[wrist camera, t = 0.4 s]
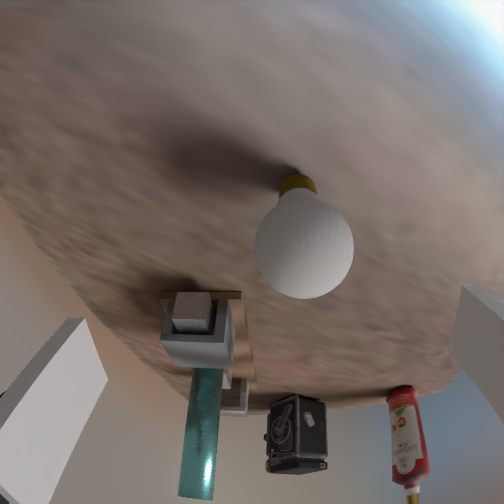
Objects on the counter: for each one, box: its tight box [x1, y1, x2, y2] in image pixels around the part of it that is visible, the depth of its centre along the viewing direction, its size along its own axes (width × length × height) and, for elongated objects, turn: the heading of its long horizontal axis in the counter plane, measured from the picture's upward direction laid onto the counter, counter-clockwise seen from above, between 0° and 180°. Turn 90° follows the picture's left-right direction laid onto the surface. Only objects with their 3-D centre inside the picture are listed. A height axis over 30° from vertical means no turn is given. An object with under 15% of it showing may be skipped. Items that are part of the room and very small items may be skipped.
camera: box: [264, 394, 328, 475], centre depth 54 cm, size 10×10×15 cm
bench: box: [158, 292, 258, 417], centre depth 41 cm, size 26×9×7 cm, turn 5°
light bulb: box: [254, 174, 354, 299], centre depth 20 cm, size 6×6×10 cm
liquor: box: [386, 386, 430, 504], centre depth 46 cm, size 7×7×28 cm
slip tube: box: [172, 292, 232, 500], centre depth 31 cm, size 18×4×19 cm, turn 5°
